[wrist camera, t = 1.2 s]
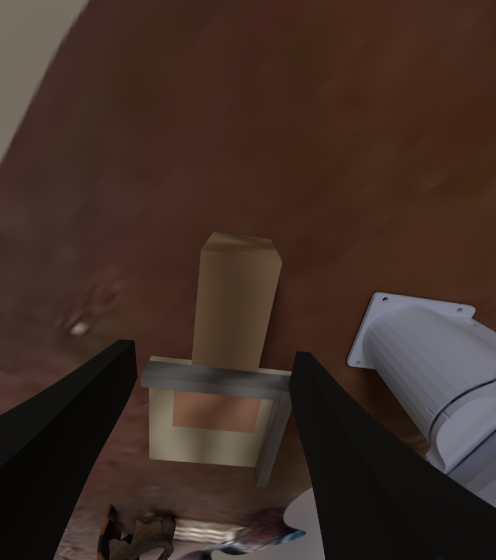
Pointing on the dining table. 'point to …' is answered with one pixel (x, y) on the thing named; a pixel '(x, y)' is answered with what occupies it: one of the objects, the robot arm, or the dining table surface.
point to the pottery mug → (135, 539)
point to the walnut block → (234, 300)
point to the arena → (216, 414)
